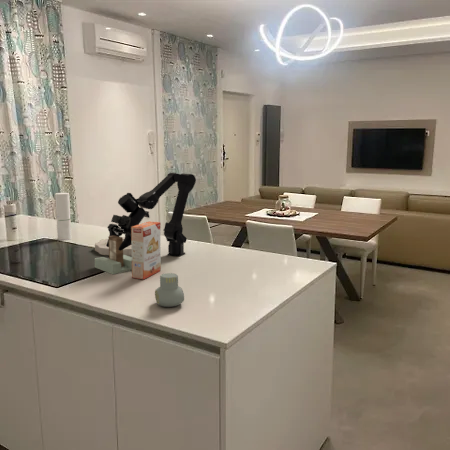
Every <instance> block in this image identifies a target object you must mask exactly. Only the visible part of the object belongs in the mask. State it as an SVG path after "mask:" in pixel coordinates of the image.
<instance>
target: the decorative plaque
mask: <svg viewBox="0 0 450 450" xmlns="http://www.w3.org/2000/svg"><path fill="white" fill-rule="evenodd" d="M122 237H123V240H124V239H125V236H122ZM108 239H109V238H105V239H101V240H99V241H97V242H95V243H94V251H95V252H97V253H98V255H103V256H109V247H107V246H106V245H107V242H108ZM123 255H126V256H129V257H132V245H130V246H128V247H126V248H125V249H123Z"/></svg>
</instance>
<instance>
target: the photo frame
mask: <svg viewBox="0 0 450 450" xmlns="http://www.w3.org/2000/svg"><path fill="white" fill-rule="evenodd" d="M107 237H108V238H107V239H109V255H108V259H111V260H114V261H117V262H120V263H121V267H123V266H124V264H123V250H121V251H120V250H119V247H120V245H121V244H122V242H123V237H124V236H115V235H114V236H107Z"/></svg>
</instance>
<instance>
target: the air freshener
mask: <svg viewBox="0 0 450 450" xmlns="http://www.w3.org/2000/svg"><path fill="white" fill-rule="evenodd" d="M159 279H160V280H159V283H160V284H159V285H160V286H159V287H158V288H156V289H155V291H154V298H155V302H156V303H157V305H158V306H160V307H165V308H173V307H177V306H179V305H181V304H182V303H184V301H185V292H184V290H183V288H182V287H181V286H179V275H178V274H177V273H173V272H167V273H165V272H164V273H163V274H161V275H160V277H159Z"/></svg>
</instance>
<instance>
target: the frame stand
mask: <svg viewBox="0 0 450 450" xmlns="http://www.w3.org/2000/svg"><path fill="white" fill-rule="evenodd" d="M123 264H124V266H123V267H121V263H120V262H117V261H114V260H111V259H109V257H108V258H107V257H104V256H100V257H96V258H94V268H95V269H98V270H101V271H103V272H106V273H109V274H110V275H116V274H121V273H125V272H129V271H132V256H126V255H123Z"/></svg>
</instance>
